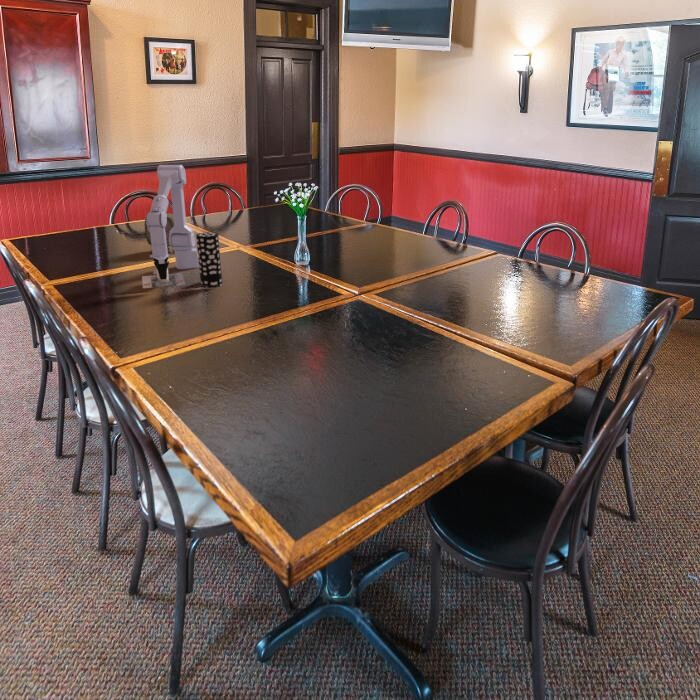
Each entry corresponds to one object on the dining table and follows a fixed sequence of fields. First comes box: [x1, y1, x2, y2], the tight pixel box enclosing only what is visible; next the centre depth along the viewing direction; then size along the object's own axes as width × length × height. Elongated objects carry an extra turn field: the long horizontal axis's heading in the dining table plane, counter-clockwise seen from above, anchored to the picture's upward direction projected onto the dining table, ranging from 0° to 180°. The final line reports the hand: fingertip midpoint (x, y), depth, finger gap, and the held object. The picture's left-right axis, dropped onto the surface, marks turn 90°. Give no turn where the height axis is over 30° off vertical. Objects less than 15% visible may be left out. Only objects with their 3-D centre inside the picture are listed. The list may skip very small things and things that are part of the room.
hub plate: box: [141, 272, 186, 289], centre depth 263 cm, size 16×18×2 cm
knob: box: [152, 267, 170, 282], centre depth 258 cm, size 6×4×5 cm
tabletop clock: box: [144, 210, 175, 254], centre depth 308 cm, size 14×9×25 cm, turn 81°
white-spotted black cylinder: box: [195, 231, 223, 289], centre depth 256 cm, size 8×8×20 cm
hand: (163, 277), depth 259 cm, fingers closed on knob, 4 cm apart
